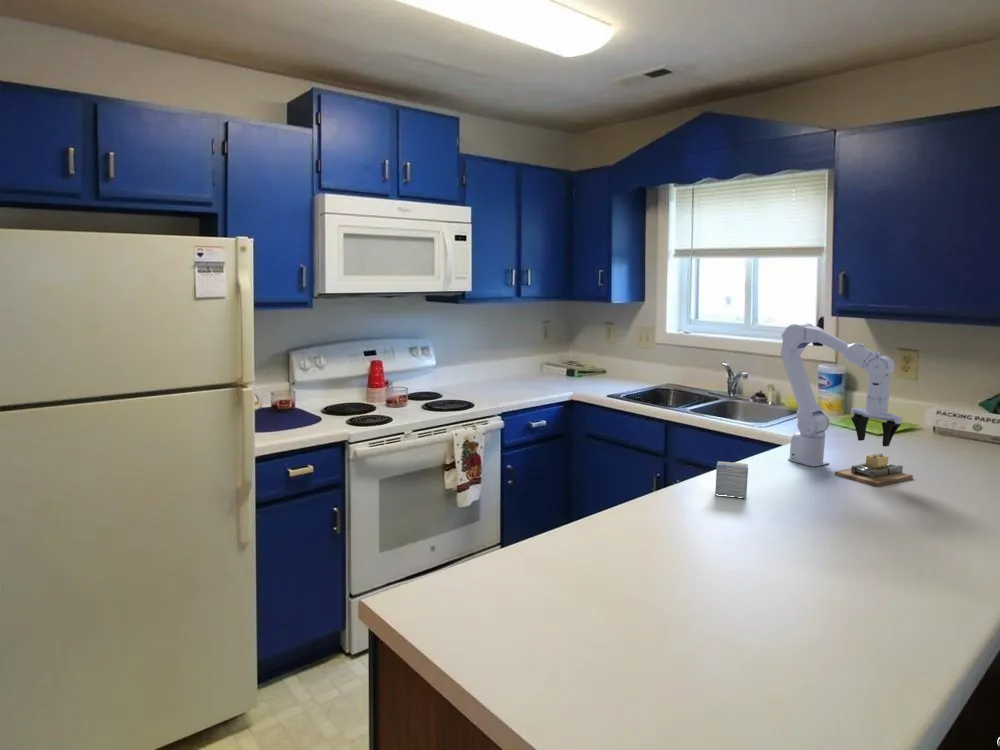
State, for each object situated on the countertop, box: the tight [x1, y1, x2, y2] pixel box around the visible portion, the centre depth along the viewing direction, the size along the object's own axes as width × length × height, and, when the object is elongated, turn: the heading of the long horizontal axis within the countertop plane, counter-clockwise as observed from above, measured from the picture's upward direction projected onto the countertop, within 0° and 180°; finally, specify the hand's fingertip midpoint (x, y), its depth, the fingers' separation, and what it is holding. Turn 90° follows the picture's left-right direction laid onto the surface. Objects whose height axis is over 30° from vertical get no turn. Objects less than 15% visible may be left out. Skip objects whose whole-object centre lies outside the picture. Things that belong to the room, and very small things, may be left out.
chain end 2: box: [886, 463, 904, 475], centre depth 203 cm, size 7×7×2 cm
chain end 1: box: [850, 462, 888, 479], centre depth 200 cm, size 7×7×2 cm
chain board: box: [834, 467, 914, 487], centre depth 201 cm, size 13×17×1 cm
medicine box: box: [714, 460, 749, 499], centre depth 181 cm, size 8×4×9 cm, turn 71°
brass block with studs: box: [865, 452, 889, 470], centre depth 201 cm, size 4×5×6 cm
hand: (873, 443), depth 201 cm, fingers open, 7 cm apart
